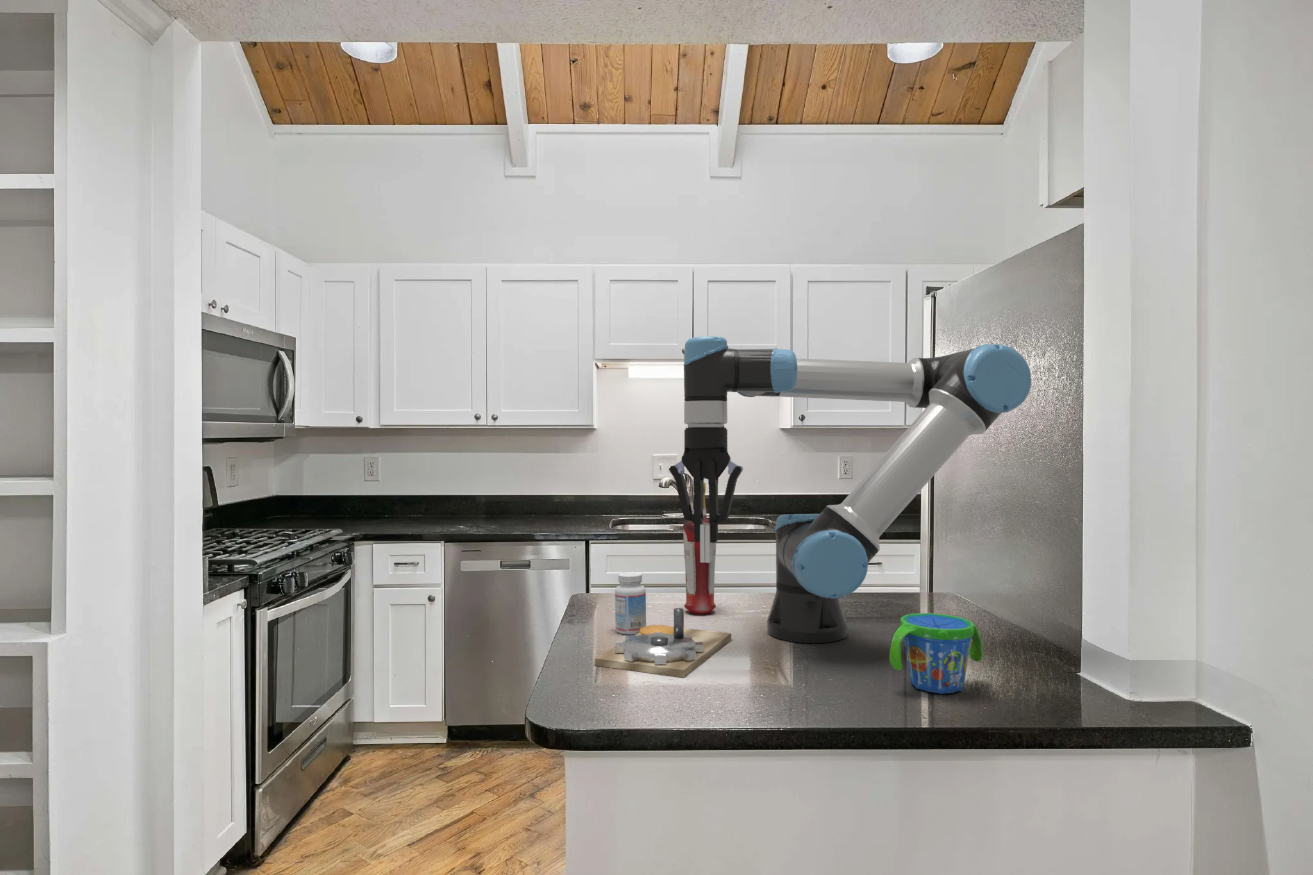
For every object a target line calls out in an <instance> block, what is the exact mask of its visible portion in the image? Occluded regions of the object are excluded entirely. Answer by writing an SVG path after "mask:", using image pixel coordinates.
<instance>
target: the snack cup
mask: <svg viewBox="0 0 1313 875" xmlns="http://www.w3.org/2000/svg"><path fill="white" fill-rule="evenodd" d="M902 641H904V647H905V654H906V663H907V668H908V673H909V679H910V681H911V684H912V685H913V686H914V687H915V689H918V690H921V691H924V692H928V693H934V694H940V695H943V694H944V695H945V694H951V693H952V694H953V693H956V692H962V691H963V687H964V685H965V680H966V673H967V667H968V661H969V658H970V659H971V660H972V661H974V662H977V663H978V662H980V661H982V660H983V657H984V656H983V655H984V653H983V652H984V648H983V642H982V638H981V633H980V631H979V629H978V628H977V626H976V625H975V624H974V623H973V621H971V620H969V619H966V618H963V617H960V616H957V615H956V616H955V615H950V614H944V613H931V612H930V613H929V612H926V613H925V612H920V613H919V612H918V613H909V614H904V615H903V616H901V617H900V626H899V627H898V628H897V629H896V631H895V632H894V634H893V636H892V640H891V644H890V648H889V656H888V657H889V664H890V665H891V667H892V668H893V669H894V670H895V671H899V672H900V671H902V670H903V664H902Z"/></svg>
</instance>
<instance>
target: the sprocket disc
mask: <svg viewBox="0 0 1313 875" xmlns="http://www.w3.org/2000/svg"><path fill="white" fill-rule="evenodd" d="M673 627H674V635H673V634H663V632H653V634H646V635H639V636H635V635H636V634H633V635H628V636H625V637H624V638H625V639H624V641H622V642H623V643H622V642H615V646H614V647H615V653H624V660H628V661H631V662H632V661H635V660H638V661H644V662H655V664H666V662H674V661H680V660H686V661H690V660H693V659H696V652H703V642H695V641H694V640H692V636H689V635H685V634H684V628H685V608H681V607H676V608H673Z"/></svg>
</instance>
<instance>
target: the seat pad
mask: <svg viewBox="0 0 1313 875" xmlns="http://www.w3.org/2000/svg"><path fill="white" fill-rule="evenodd" d="M653 632H663V634H673V635H674V626H671V625H667V624H665V625H664V624H651V625H646V626H645V627H642V628H640V633H641V634H642V635H646V634H653Z"/></svg>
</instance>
